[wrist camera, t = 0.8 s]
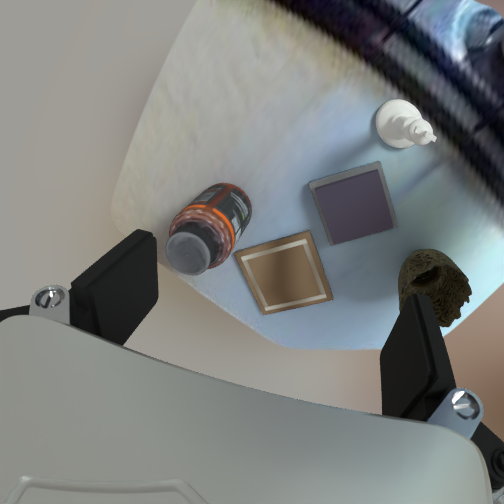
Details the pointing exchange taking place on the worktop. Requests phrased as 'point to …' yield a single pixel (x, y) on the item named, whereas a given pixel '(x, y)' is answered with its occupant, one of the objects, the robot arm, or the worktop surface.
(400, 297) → the cup
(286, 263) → the stamp board
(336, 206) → the ink pad
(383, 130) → the chess piece
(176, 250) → the supplement bottle
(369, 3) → the worktop surface
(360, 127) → the worktop surface
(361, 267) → the worktop surface
